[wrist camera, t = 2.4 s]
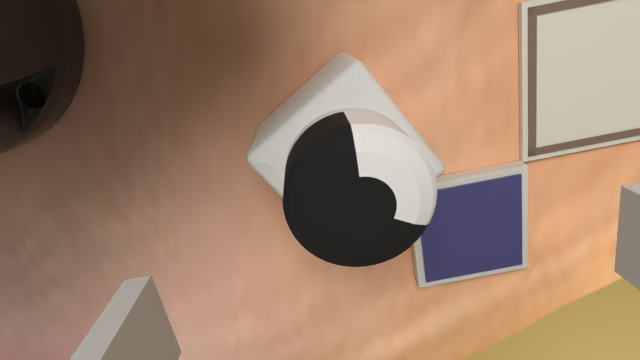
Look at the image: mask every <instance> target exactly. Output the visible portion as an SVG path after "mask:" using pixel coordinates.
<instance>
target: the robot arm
mask: <svg viewBox="0 0 640 360" xmlns="http://www.w3.org/2000/svg"><path fill="white" fill-rule="evenodd" d="M83 59H84V39H83V30H82V24H81V18H80V14H79V10H78V7H77V3H76V0H0V153H3V152H5V151H8V150H10V149H12V148H15V147H17V146H20V145H22V144H24V143H27V142H29V141H31V140H33V139H35V138H37V137H38V136H40V135H41V134H43V133H44V132H46V131H47V130H48V129H49V128H51V127H52V126H53V125H54V124H55V123H56V122H57V121H58V120H59V119H60V117H61V116H62V115H63V114H64V112H65V111H66V110H67V108H68V106H69V105H70V103H71V101H72V99H73V97H74V95H75V93H76V90H77V88H78V85H79V81H80V78H81V73H82V68H83ZM614 271H615V272H616V273H618V274H619V275H620V276H622V277H623V278H624V279H626V280H627V281H628V282H629V283H631V284H632V285H633V286H635V287H636V288H637V289H639V290H640V182H638V183H633V184H628V185H622V186H621V196H620V208H619V221H618V233H617V245H616V258H615V270H614ZM180 354H181V350H180V347H179V345H178V342H177V340H176V337H175V335H174V332H173V330H172V327H171V324H170V322H169V319H168V317H167V314H166V312H165V309H164V307H163V304H162V302H161V299H160V297H159V294H158V291H157V289H156V286H155V284H154V281H153V279H152V276H151V275H149V276H144V277H139V278H134V279H128V280H124V281H123V283H122V284H121V286H120V287H119V289H118V290H117V292H116V293H115V294H114V296H113V297H112V299H111V300H110V302H109V303H108V305H107V306H106V307H105V309H104V310H103V312H102V313H101V315H100V316H99V318H98V319H97V320H96V322H95V323H94V325H93V326H92V328H91V329H90V330H89V332H88V333H87V335H86V336H85V338H84V339H83V341H82V342H81V343H80V345H79V346H78V348H77V349H76V351H75V352H74V354H73V355H72V356H71V358H70V359H69V360H178V359H179V356H180Z"/></svg>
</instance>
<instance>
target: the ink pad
mask: <svg viewBox="0 0 640 360" xmlns="http://www.w3.org/2000/svg"><path fill="white" fill-rule="evenodd" d="M436 182H437V200H436V206H435V210H434V213H433V216H432V218H431V220H430V223H429V225H428V226H427V228H426V229H425V231H424V233H423V234H422V235H421V236H420V238H419V239H418V240H417V241H416V242H415V243H414V244H413V245H412V254H413V262H414V270H415V279H416V282H417V284H418V286H419V288H422V287H427V286H432V285H438V284H443V283H448V282H454V281H459V280H464V279H469V278H475V277H480V276H485V275H491V274H496V273H501V272H506V271H512V270H517V269H522V268H528V165H527V164H525V163H523V162H522V161H520V160H519V161H514V162H509V163H504V164H499V165H494V166H488V167H483V168H478V169H473V170H468V171H463V172H457V173H452V174H447V175H442V176H439V177H437V178H436Z"/></svg>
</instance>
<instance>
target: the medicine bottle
mask: <svg viewBox="0 0 640 360" xmlns="http://www.w3.org/2000/svg"><path fill="white" fill-rule="evenodd" d="M247 161H248V163H249V165H250V166H251V167H252V168H253V169H254V170H255V171H256V172H257V173H258V174H259V175H260V176H261V177H262V178H263V179H264V180H265V181H266V182H267V183H268V184H269V185H270V186H271V187H272V188H273V189H274V190H275V191H276V192H277V193H278V194H279V195H280V196H281V197H282V198H283V209H284V214H285V218H286V221H287V223H288V226H289V228H290V230H291V232H292V233H293V235H294V237H295V238H296V239H297V240H298V242H299V243H300V244H301V245H302V246H303V247H304V248H305V249H306V250H308V251H309V252H310V253H312V254H313V255H315V256H316V257H318V258H320V259H322V260H324V261H327V262H330V263H333V264H337V265H342V266H350V267H362V266H370V265H375V264H378V263H382V262H385V261H387V260H390V259H392V258H394V257H396V256H398V255H399V254H401V253H403V252H404V251H405V250H407V249H408V248H409V247H411V246H412V245H413V244H414V243H415V242H416V241H417V240H418V239H419V238H420V236H421V235H422V234H423V233H424V231H425V229H426V228H427V226H428V225H429V223H430V220H431V218H432V216H433V213H434V210H435V206H436V200H437V182H436V178H437V177H439V176H440V175H441V174H442V173H443V172H444V165H443V163H442V162H441V161H440V159H439V158H438V157H437V156H436V154H435V153H434V152H433V151H432V149H431V148H430V147H429V146H428V144H427V143H426V142H425V140H424V139H423V138H422V137H421V135H420V134H419V133H418V132H417V130H416V129H415V128H414V127H413V125H412V124H411V123H410V122H409V120H408V119H407V118H406V117H405V115H404V114H403V113H402V112H401V110H400V109H399V108H398V107H397V105H396V104H395V103H394V102H393V100H392V99H391V98H390V96H389V95H388V94H387V93H386V91H385V90H384V89H383V88H382V86H381V85H380V84H379V83H378V81H377V80H376V79H375V78H374V76H373V75H372V74H371V73H370V71H369V70H368V69H367V68H366V66H365V65H364V64H363V63H362V62H361V61H359V60H357V59H355V58H354V57H352V56H350V55H348V54H346V53H344V52H340V53H338V54H337V55H336V56H335V57H334V58H333V59H332V60H330V61H329V62H328V63H327V64H326V65H325V66H324V67H323V68H322V69H320V70H319V71H318V72H317V73H316V74H315V75H314V76H313V77H312V78H310V79H309V80H308V81H307V82H306V83H305V84H304V85H303V86H301V87H300V88H299V89H298V90H297V91H296V92H295V93H294V94H293V95H291V96H290V97H289V98H288V99H287V100H286V101H285V102H284V103H283V104H281V105H280V106H279V107H278V108H277V109H276V110H275V111H274V112H273V113H271V114H270V115H269V116H268V117H267V118H266V119H265V120H264V121H263V122H261V123H260V125H259V126H258V129H257V131H256V134H255V137H254V139H253V142H252V145H251V147H250V150H249V152H248V155H247Z"/></svg>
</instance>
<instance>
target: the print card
mask: <svg viewBox="0 0 640 360" xmlns="http://www.w3.org/2000/svg"><path fill="white" fill-rule="evenodd" d="M518 28H519V126H520V161H522V162H527V161H532V160H537V159H542V158H548V157H553V156H558V155H563V154H568V153H573V152H579V151H584V150H589V149H594V148H599V147H604V146H610V145H615V144H620V143H625V142H630V141H636V140H640V0H530V1H525V2H520V3H518Z"/></svg>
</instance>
